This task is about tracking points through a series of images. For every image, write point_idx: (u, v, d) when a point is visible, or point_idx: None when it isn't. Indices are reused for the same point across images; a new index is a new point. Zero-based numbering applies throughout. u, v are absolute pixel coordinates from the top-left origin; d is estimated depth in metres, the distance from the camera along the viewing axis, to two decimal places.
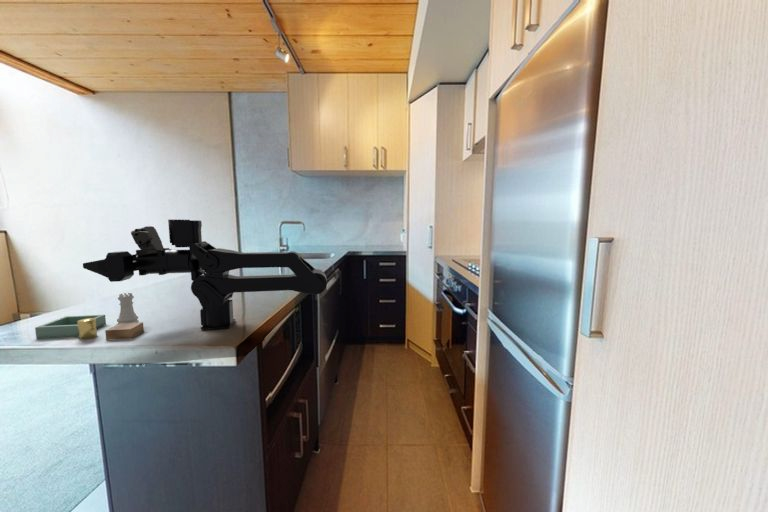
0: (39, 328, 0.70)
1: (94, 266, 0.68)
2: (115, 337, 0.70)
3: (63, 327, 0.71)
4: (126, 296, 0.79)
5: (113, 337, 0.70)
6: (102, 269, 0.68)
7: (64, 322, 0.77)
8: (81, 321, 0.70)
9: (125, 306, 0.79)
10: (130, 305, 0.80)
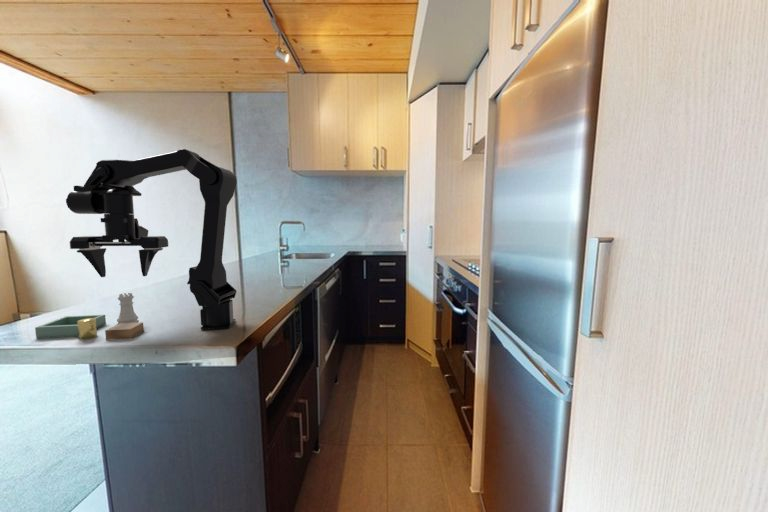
0: (39, 328, 0.70)
1: None
2: (115, 337, 0.70)
3: (63, 327, 0.71)
4: (126, 296, 0.79)
5: (113, 337, 0.70)
6: None
7: (64, 322, 0.77)
8: (81, 321, 0.70)
9: (125, 306, 0.79)
10: (130, 305, 0.80)
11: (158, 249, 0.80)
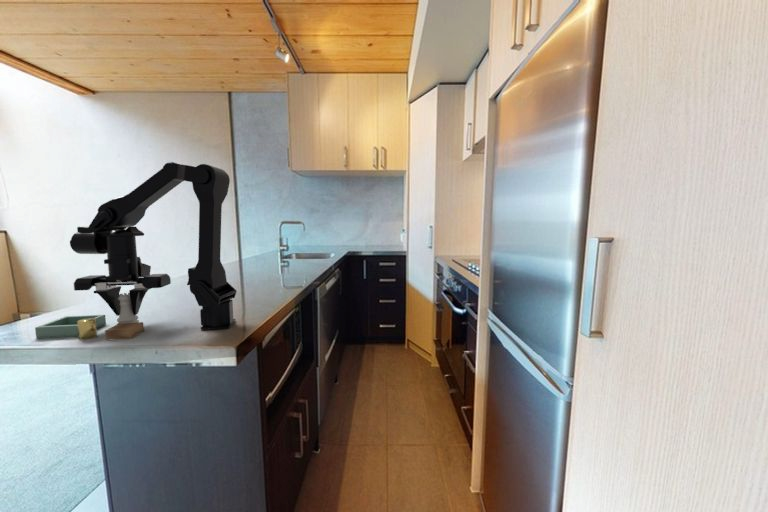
0: (39, 328, 0.70)
1: None
2: (115, 337, 0.70)
3: (63, 327, 0.71)
4: (126, 296, 0.79)
5: (113, 337, 0.70)
6: None
7: (64, 322, 0.77)
8: (81, 321, 0.70)
9: (125, 306, 0.79)
10: (130, 305, 0.80)
11: (149, 288, 0.81)
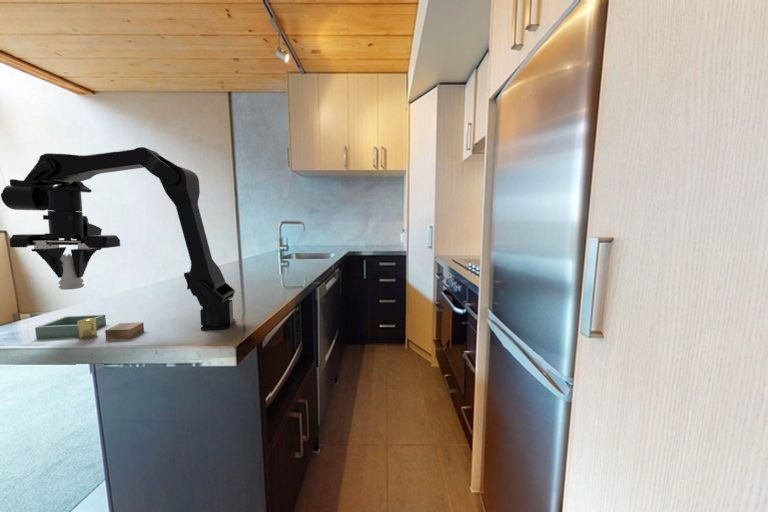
0: (39, 328, 0.70)
1: None
2: (115, 337, 0.70)
3: (63, 327, 0.71)
4: (69, 256, 0.73)
5: (113, 337, 0.70)
6: None
7: (64, 322, 0.77)
8: (81, 321, 0.70)
9: (68, 268, 0.73)
10: (73, 266, 0.74)
11: (95, 249, 0.75)
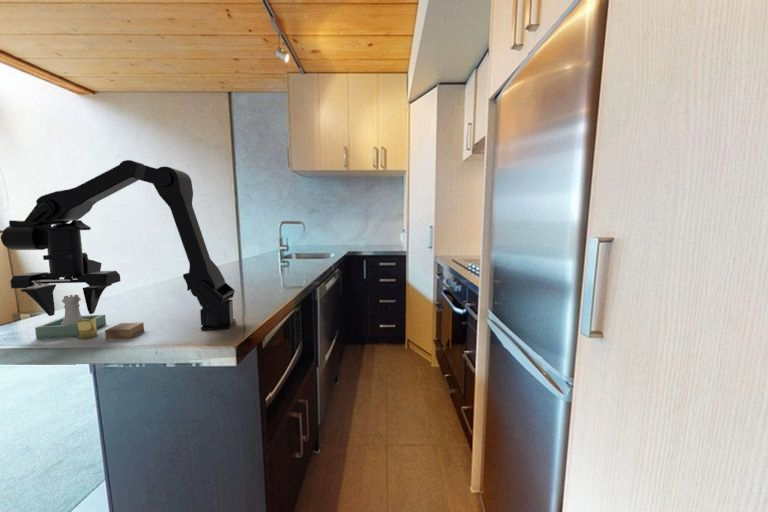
0: (39, 328, 0.70)
1: None
2: (114, 337, 0.70)
3: (63, 327, 0.71)
4: (71, 298, 0.74)
5: (112, 337, 0.70)
6: None
7: None
8: (81, 321, 0.70)
9: (70, 309, 0.74)
10: (75, 307, 0.75)
11: (106, 285, 0.76)
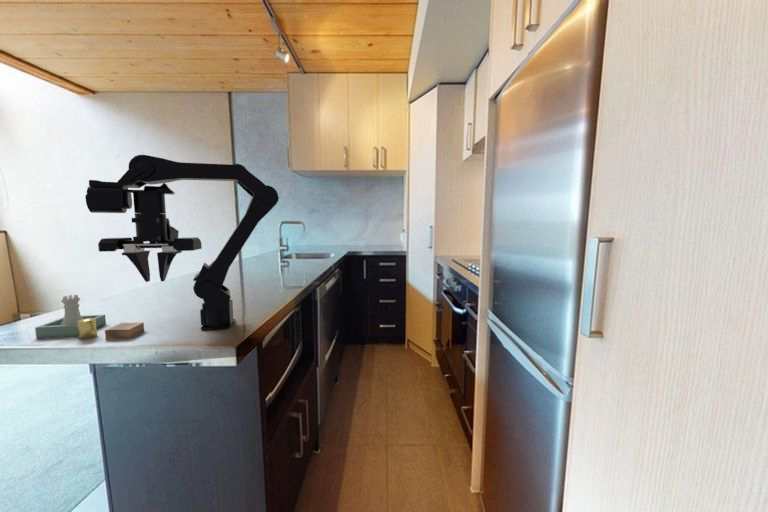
0: (39, 328, 0.70)
1: None
2: (114, 337, 0.70)
3: (63, 327, 0.71)
4: (70, 298, 0.74)
5: (112, 337, 0.70)
6: None
7: None
8: (81, 321, 0.70)
9: (69, 309, 0.74)
10: (75, 308, 0.75)
11: (177, 252, 0.73)
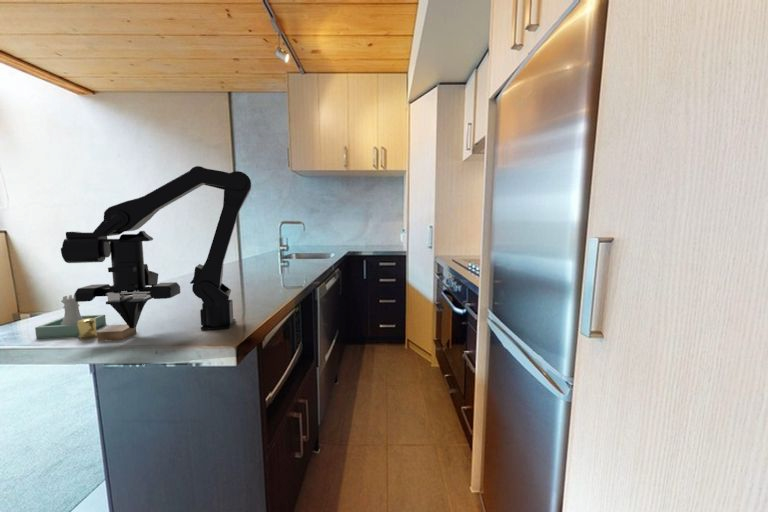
0: (39, 328, 0.70)
1: None
2: (107, 339, 0.69)
3: (63, 327, 0.71)
4: (70, 298, 0.74)
5: (105, 339, 0.69)
6: None
7: None
8: (81, 321, 0.70)
9: (69, 309, 0.74)
10: (75, 308, 0.75)
11: (148, 298, 0.73)
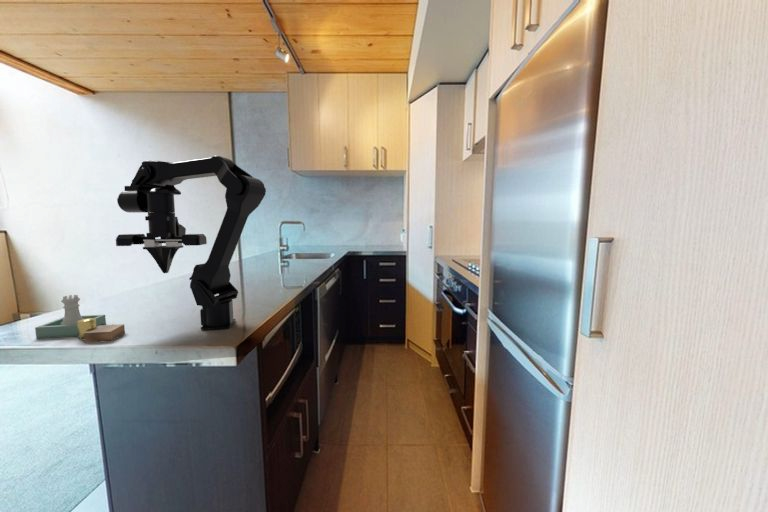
0: (39, 328, 0.70)
1: None
2: (94, 340, 0.69)
3: (63, 327, 0.71)
4: (70, 298, 0.74)
5: (92, 340, 0.69)
6: None
7: None
8: (81, 321, 0.70)
9: (69, 309, 0.74)
10: (75, 308, 0.75)
11: (179, 246, 0.82)
